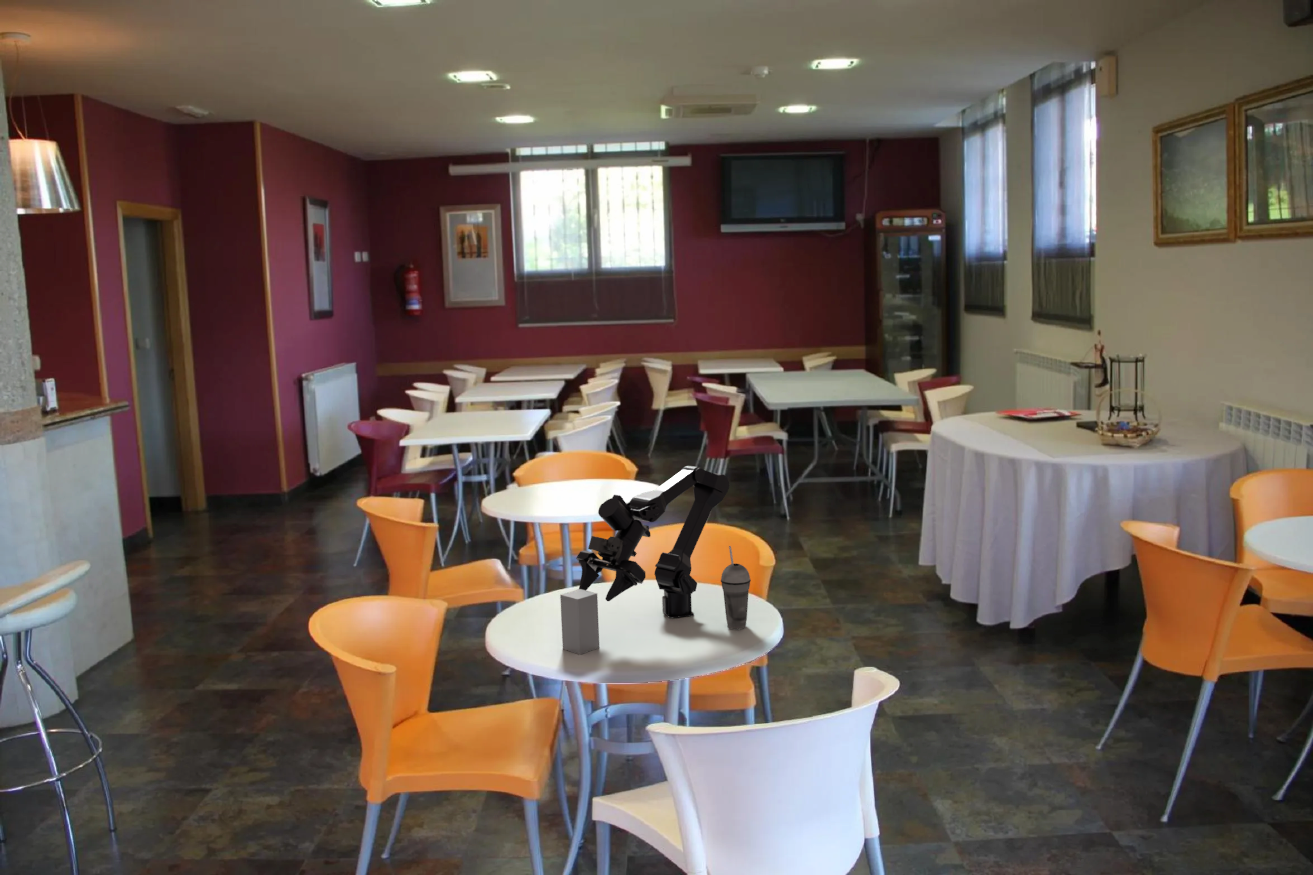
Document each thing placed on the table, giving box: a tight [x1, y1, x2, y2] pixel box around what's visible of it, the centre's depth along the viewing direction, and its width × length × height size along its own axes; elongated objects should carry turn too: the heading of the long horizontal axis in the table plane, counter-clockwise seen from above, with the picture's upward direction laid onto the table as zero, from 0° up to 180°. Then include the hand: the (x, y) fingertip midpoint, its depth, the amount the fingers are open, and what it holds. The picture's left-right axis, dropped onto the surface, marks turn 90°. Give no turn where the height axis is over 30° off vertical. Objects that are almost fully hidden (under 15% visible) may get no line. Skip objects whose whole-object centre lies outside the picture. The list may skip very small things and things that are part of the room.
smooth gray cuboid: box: [559, 588, 600, 655], centre depth 250 cm, size 6×6×13 cm
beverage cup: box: [720, 545, 751, 630], centre depth 261 cm, size 7×7×20 cm
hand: (593, 596), depth 252 cm, fingers open, 9 cm apart
